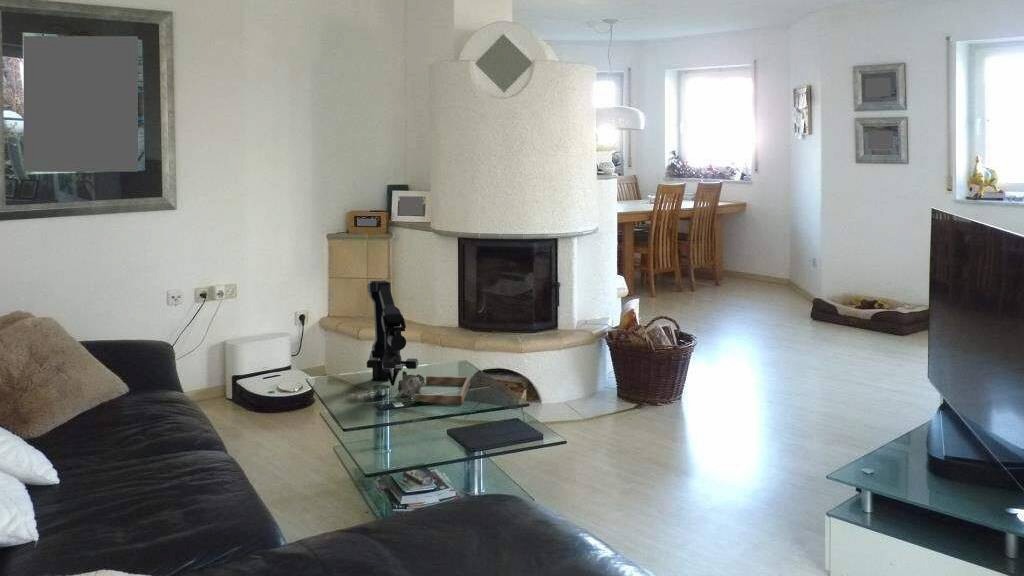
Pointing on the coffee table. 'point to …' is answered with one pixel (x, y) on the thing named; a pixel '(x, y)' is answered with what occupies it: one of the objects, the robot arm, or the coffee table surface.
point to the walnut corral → (445, 398)
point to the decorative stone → (410, 385)
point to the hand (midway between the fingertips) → (392, 385)
